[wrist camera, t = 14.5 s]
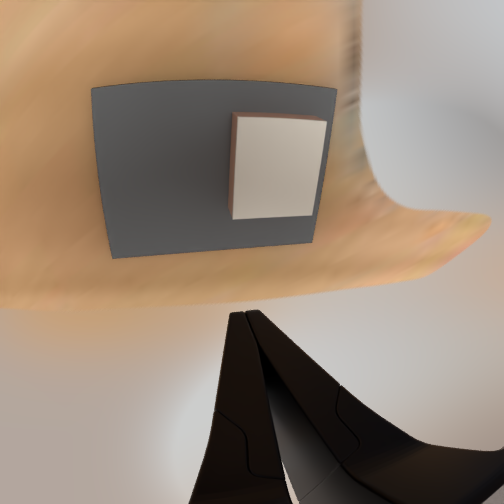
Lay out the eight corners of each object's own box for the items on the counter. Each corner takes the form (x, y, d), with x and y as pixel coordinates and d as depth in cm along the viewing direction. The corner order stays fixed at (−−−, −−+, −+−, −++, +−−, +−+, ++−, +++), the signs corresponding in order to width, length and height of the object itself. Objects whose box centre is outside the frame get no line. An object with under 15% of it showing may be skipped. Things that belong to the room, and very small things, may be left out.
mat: (113, 255, 20) (112, 258, 20) (92, 88, 14) (91, 88, 14) (309, 239, 24) (311, 242, 23) (334, 88, 17) (337, 89, 17)
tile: (232, 219, 19) (312, 215, 20) (238, 117, 15) (326, 121, 17) (227, 207, 20) (302, 203, 21) (232, 111, 17) (315, 115, 18)
